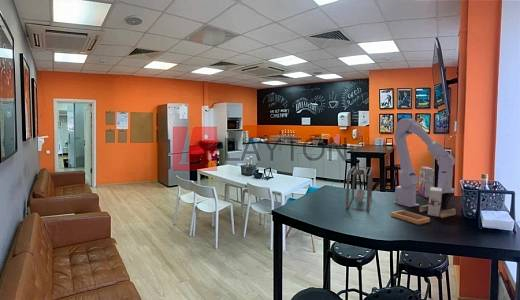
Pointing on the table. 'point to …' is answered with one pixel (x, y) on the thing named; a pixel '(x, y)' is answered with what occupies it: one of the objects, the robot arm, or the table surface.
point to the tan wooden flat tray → (410, 217)
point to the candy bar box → (426, 181)
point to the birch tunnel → (442, 213)
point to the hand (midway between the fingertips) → (443, 208)
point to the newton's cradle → (360, 192)
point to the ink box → (434, 201)
